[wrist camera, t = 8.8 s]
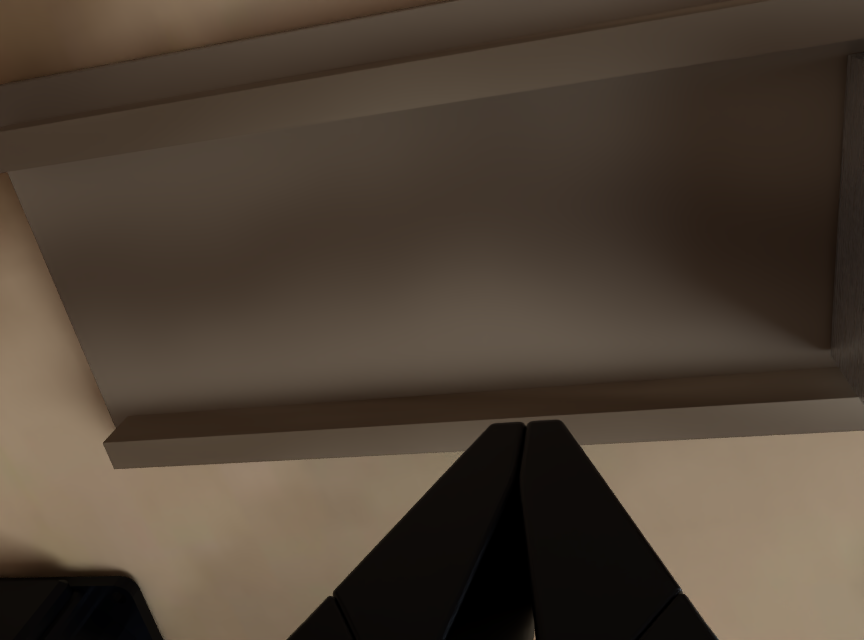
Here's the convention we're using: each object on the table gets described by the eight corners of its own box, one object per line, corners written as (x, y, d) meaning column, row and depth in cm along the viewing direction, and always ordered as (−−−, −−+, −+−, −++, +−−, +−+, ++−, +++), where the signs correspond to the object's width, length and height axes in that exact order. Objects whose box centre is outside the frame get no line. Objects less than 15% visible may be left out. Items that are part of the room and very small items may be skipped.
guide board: (1204, 382, 16) (1458, 553, 11) (150, 444, 21) (40, 576, 17) (1374, -173, 11) (1885, -249, 7) (3, 83, 17) (-196, 131, 12)
